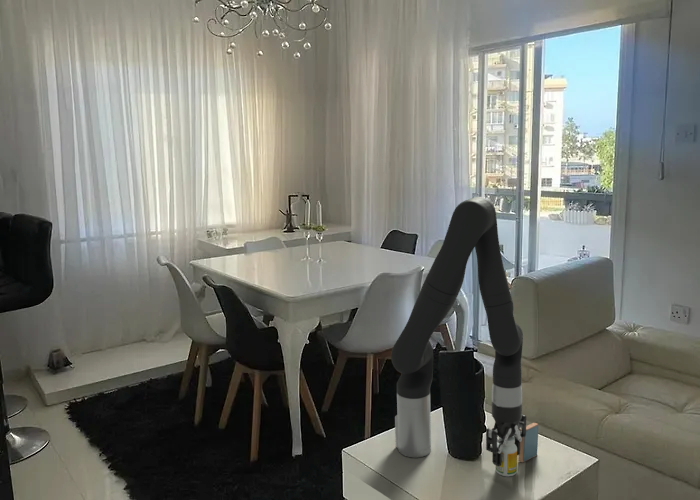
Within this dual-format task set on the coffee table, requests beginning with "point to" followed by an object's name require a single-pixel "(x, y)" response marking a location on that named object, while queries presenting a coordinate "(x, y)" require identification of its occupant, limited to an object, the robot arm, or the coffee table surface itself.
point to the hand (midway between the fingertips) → (506, 459)
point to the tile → (529, 443)
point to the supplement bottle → (508, 458)
